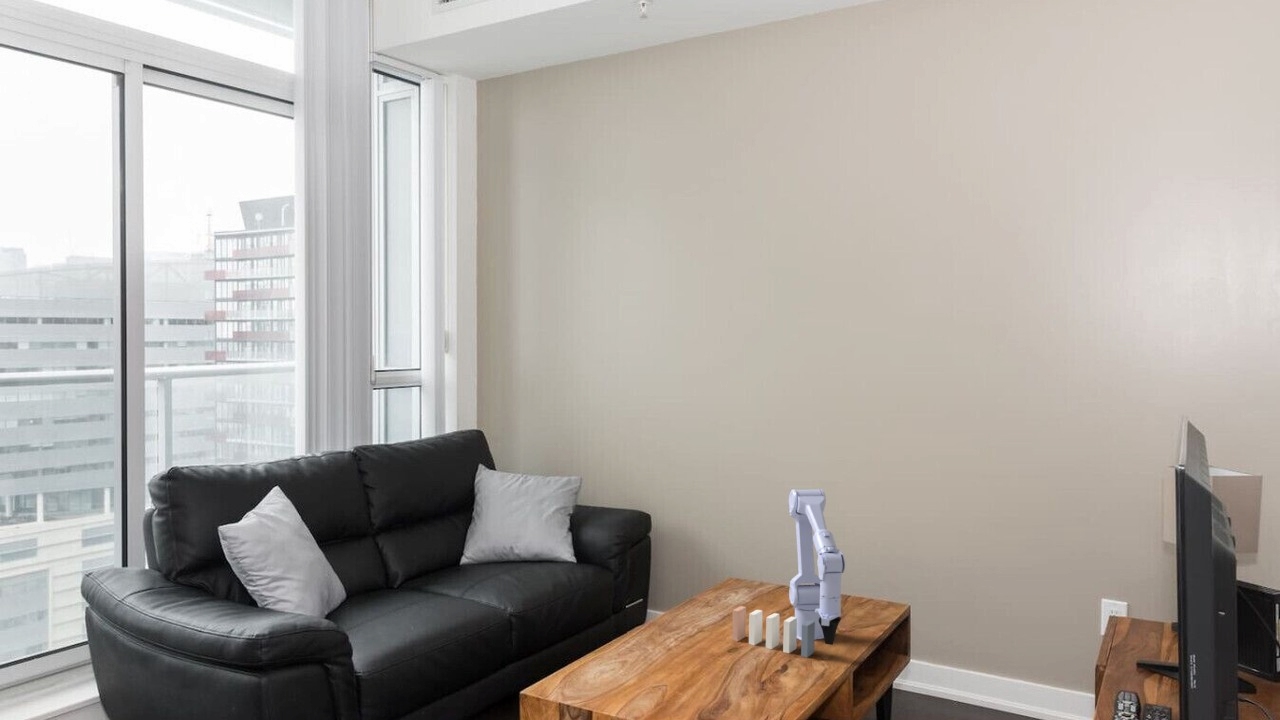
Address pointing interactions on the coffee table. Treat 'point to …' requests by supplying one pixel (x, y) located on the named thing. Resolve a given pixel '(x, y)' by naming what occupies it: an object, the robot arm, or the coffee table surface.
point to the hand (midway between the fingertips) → (829, 643)
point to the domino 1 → (739, 623)
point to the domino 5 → (808, 638)
